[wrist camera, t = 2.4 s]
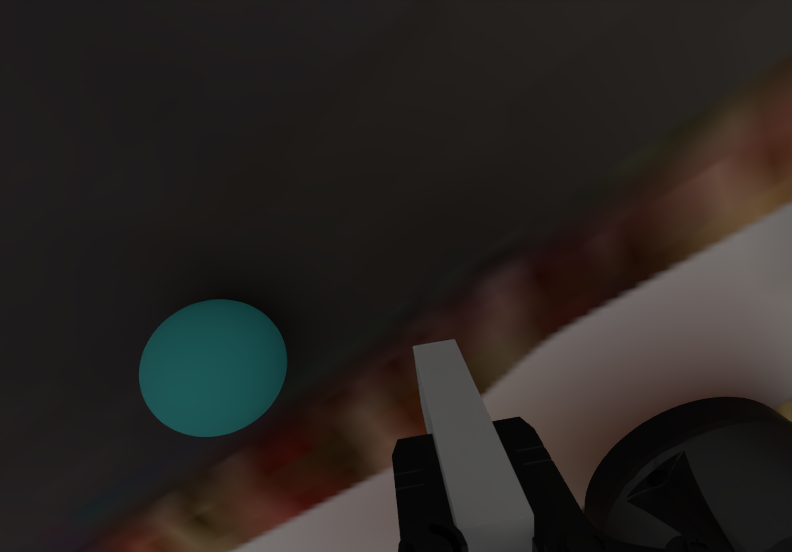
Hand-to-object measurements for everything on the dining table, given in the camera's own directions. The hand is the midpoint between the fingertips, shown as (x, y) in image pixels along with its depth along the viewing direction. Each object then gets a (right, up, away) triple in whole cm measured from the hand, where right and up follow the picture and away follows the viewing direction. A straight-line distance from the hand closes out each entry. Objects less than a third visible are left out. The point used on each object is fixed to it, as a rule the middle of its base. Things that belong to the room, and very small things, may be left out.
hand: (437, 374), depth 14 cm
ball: (-10, 0, +4) cm, 10 cm away
